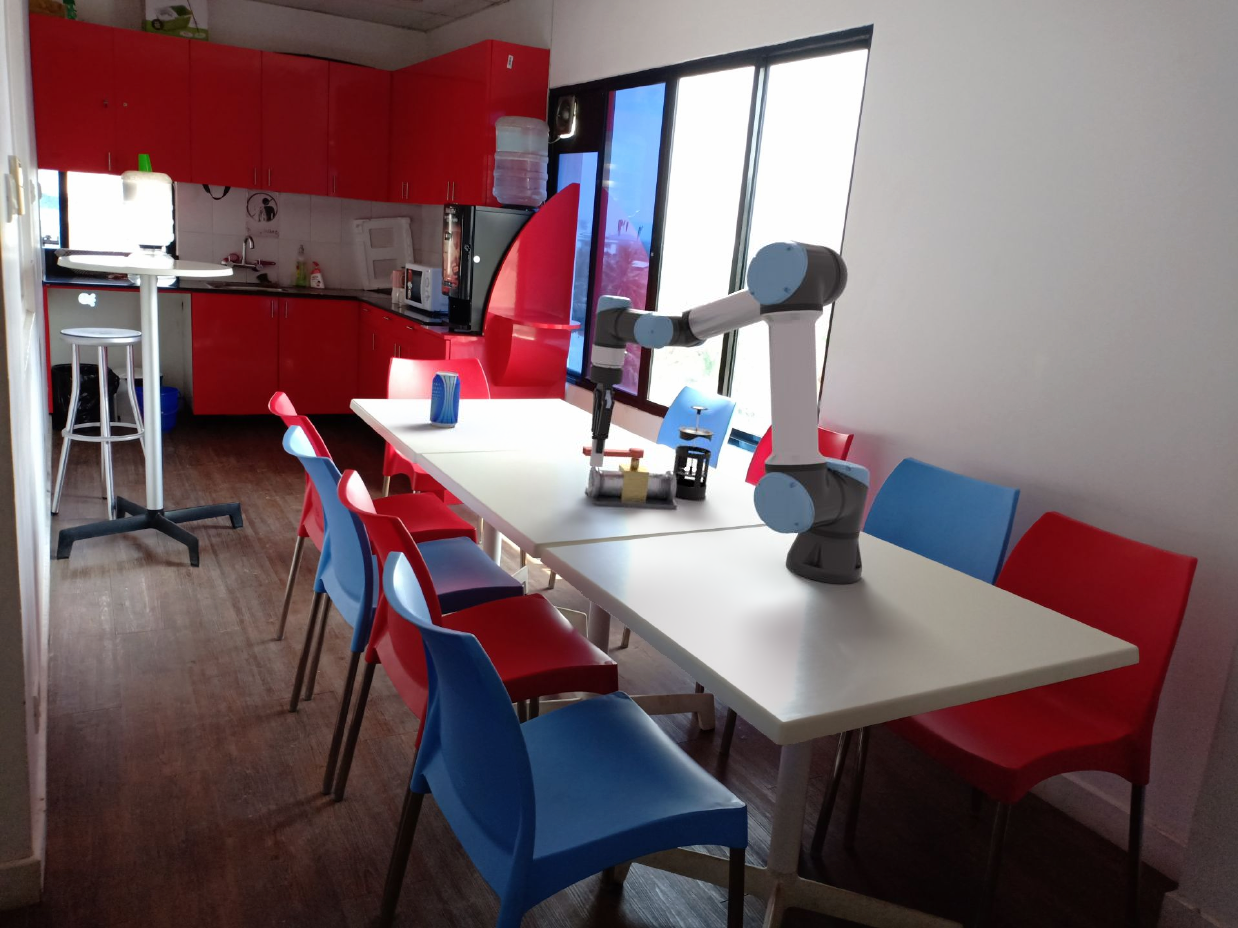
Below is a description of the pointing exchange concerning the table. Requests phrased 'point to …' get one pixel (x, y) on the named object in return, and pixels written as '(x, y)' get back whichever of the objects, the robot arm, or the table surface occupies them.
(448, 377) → the beer can
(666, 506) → the valve body
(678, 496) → the french press
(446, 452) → the table surface
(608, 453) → the lever
